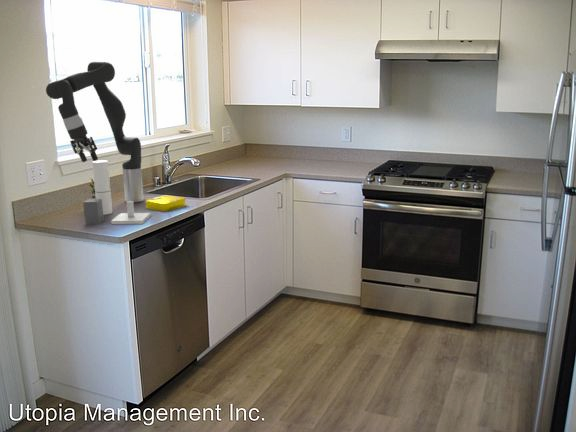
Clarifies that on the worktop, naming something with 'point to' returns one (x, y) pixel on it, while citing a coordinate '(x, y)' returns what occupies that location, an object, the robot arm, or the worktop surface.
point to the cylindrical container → (102, 184)
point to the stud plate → (131, 220)
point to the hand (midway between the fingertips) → (90, 160)
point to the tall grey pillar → (93, 211)
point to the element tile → (165, 203)
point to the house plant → (92, 189)
